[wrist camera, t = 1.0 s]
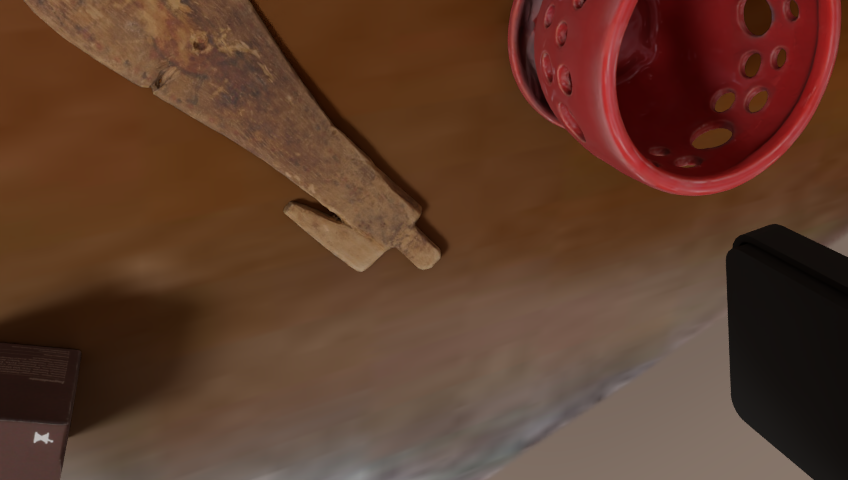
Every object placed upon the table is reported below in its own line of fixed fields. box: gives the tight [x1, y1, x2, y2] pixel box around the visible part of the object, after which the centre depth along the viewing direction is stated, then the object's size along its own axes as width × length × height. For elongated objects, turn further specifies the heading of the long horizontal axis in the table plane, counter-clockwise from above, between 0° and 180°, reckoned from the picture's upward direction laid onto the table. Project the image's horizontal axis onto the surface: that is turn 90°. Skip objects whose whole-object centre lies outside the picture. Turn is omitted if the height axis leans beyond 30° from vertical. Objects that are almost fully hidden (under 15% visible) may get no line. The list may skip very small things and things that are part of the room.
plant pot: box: [508, 0, 841, 196], centre depth 40 cm, size 13×13×12 cm
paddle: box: [24, 0, 441, 272], centre depth 40 cm, size 8×30×2 cm, turn 42°
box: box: [0, 343, 81, 480], centre depth 39 cm, size 6×6×7 cm
